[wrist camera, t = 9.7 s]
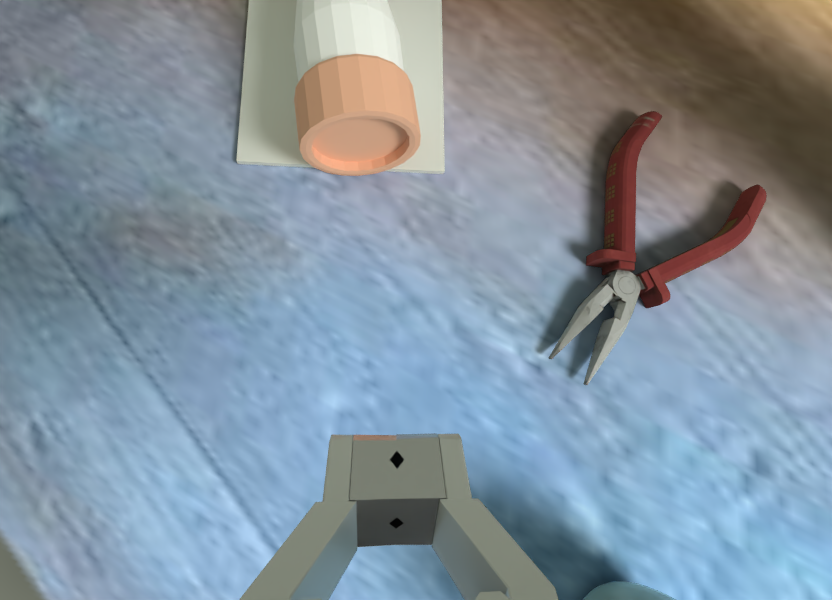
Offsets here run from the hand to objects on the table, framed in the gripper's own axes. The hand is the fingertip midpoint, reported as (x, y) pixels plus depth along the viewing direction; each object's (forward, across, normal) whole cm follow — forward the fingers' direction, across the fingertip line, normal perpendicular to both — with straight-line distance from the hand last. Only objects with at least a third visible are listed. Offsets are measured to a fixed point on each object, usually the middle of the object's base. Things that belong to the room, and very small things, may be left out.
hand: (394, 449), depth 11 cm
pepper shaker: (+21, +2, -1) cm, 21 cm away
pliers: (+22, -17, +5) cm, 29 cm away
